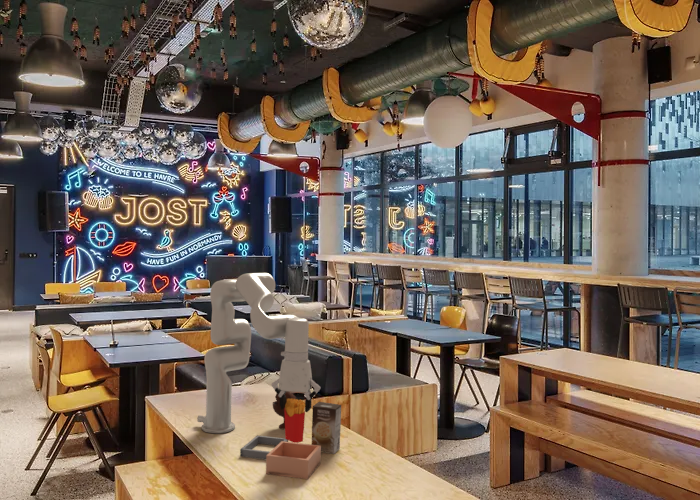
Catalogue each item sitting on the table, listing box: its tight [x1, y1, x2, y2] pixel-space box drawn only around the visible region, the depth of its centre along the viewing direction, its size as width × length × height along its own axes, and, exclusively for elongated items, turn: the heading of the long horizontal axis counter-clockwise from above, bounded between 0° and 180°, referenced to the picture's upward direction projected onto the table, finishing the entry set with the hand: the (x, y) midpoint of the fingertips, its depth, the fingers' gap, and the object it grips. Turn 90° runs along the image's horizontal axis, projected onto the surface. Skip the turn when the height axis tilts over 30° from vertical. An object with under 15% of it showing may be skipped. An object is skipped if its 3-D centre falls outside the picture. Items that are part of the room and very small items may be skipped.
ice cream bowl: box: [272, 392, 297, 430], centre depth 247 cm, size 11×11×15 cm
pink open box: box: [265, 441, 322, 480], centre depth 206 cm, size 14×14×6 cm
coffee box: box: [311, 401, 342, 455], centre depth 224 cm, size 9×6×16 cm
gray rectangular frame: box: [239, 434, 289, 460], centre depth 221 cm, size 12×15×2 cm
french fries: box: [284, 398, 306, 443], centre depth 205 cm, size 9×4×13 cm, turn 41°
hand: (295, 409), depth 205 cm, fingers closed on french fries, 7 cm apart
